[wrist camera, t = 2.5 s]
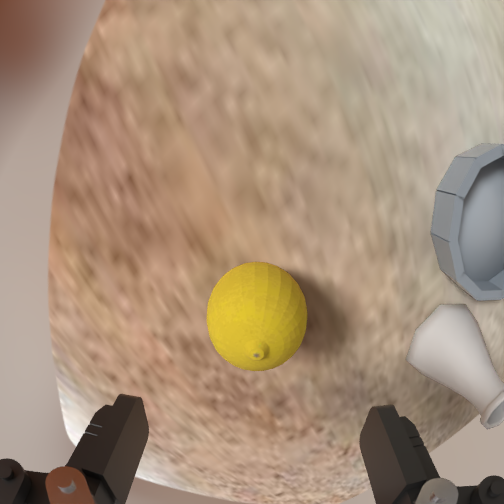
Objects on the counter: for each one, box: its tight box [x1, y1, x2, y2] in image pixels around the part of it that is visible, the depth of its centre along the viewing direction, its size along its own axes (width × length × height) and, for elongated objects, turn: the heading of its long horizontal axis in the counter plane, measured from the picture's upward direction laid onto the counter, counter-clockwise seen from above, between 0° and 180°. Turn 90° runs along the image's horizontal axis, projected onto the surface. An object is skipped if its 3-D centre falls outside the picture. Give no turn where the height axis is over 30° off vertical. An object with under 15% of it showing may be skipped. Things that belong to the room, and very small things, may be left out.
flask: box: [406, 304, 504, 429], centre depth 17 cm, size 7×7×10 cm
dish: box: [431, 144, 504, 301], centre depth 18 cm, size 12×12×2 cm
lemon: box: [207, 262, 307, 371], centre depth 17 cm, size 6×6×8 cm
